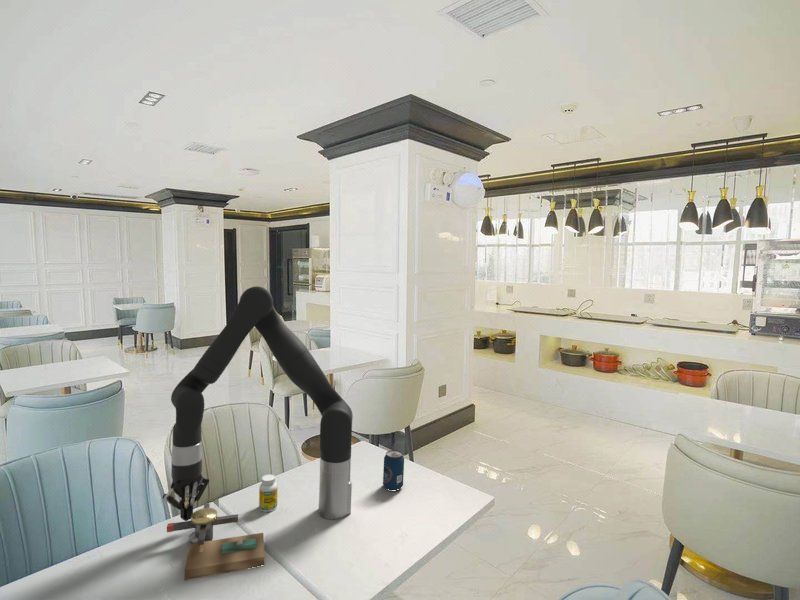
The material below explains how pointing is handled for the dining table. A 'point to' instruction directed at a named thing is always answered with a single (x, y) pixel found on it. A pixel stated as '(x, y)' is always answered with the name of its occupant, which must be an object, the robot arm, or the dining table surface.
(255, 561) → the stand
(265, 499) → the supplement bottle
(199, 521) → the capstan
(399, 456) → the soda can
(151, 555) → the dining table surface
